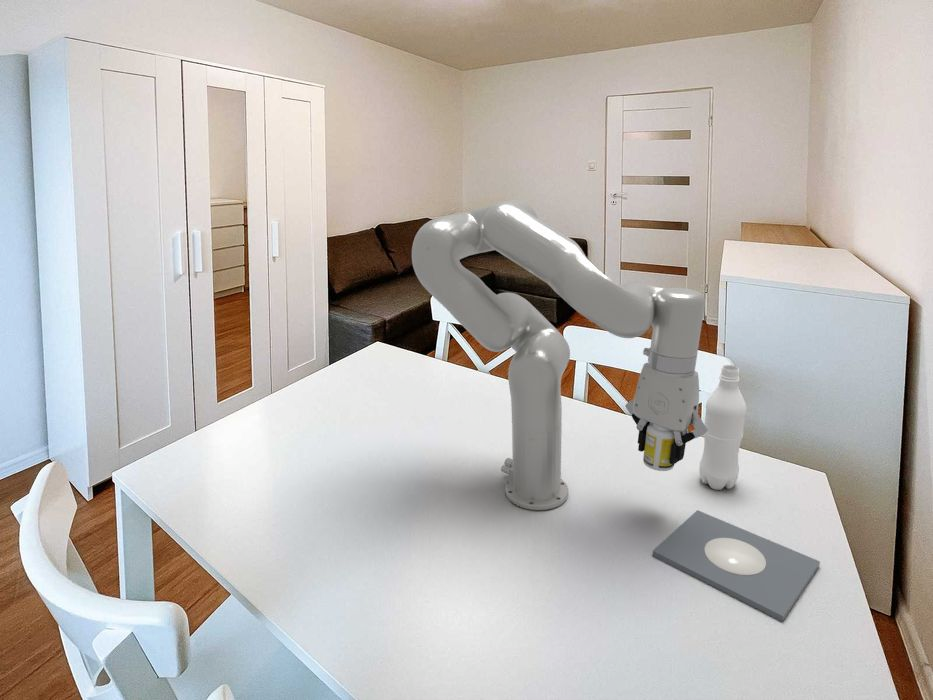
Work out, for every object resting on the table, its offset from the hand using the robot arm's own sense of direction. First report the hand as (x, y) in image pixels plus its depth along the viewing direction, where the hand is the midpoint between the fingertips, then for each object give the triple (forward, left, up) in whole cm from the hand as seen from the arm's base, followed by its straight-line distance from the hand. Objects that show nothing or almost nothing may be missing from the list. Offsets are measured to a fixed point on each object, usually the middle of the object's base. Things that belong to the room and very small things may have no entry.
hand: (659, 454), depth 99 cm
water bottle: (+4, +17, -12) cm, 22 cm away
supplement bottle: (0, 0, -2) cm, 2 cm away
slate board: (+16, -4, -12) cm, 20 cm away
